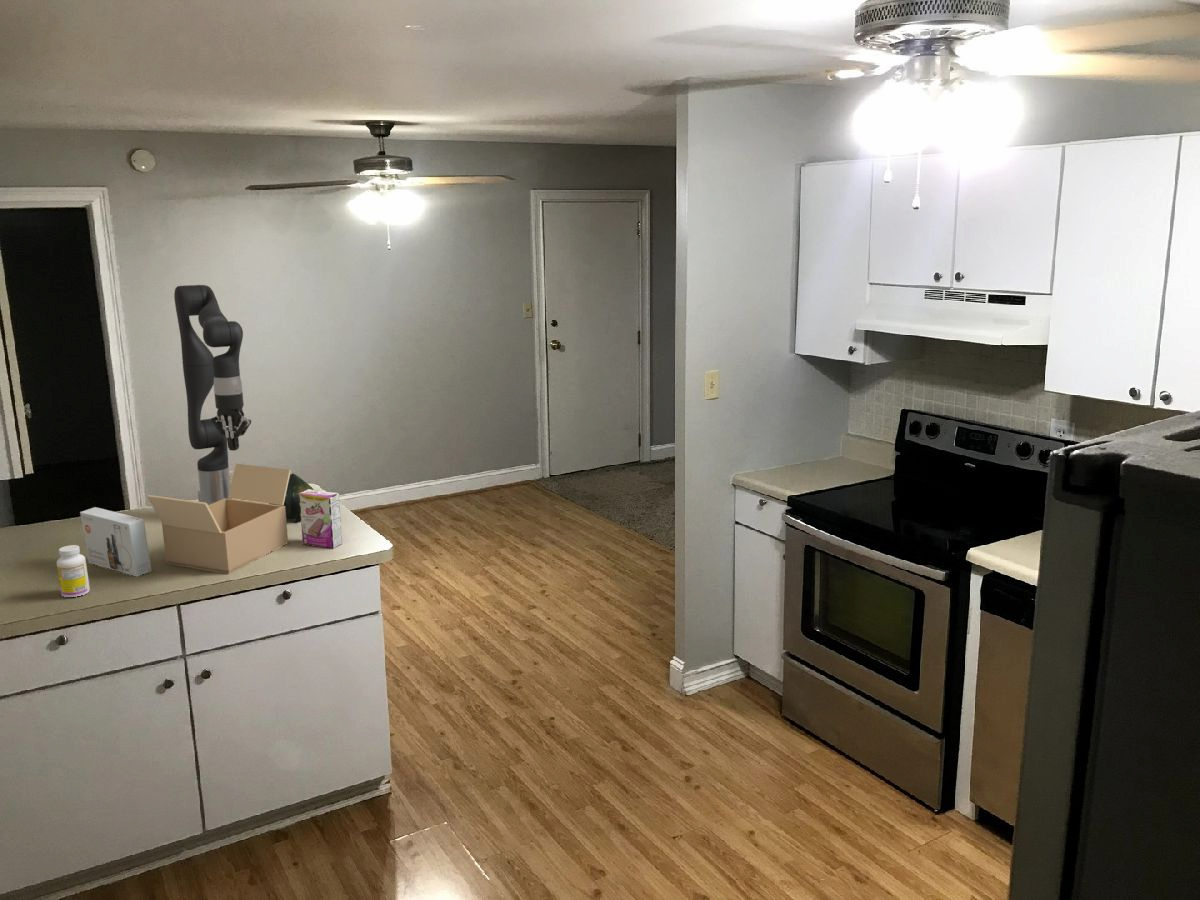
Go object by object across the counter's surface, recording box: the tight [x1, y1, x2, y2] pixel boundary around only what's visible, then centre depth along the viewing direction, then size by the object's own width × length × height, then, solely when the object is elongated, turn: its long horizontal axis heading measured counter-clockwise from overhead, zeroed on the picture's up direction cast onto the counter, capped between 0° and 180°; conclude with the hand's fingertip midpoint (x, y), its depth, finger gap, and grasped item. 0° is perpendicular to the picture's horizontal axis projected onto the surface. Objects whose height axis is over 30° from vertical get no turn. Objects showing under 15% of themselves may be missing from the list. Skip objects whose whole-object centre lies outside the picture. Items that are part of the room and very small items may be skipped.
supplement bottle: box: [56, 544, 91, 598], centre depth 246 cm, size 7×7×13 cm
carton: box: [161, 498, 289, 575], centre depth 275 cm, size 22×26×12 cm
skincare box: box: [79, 506, 153, 577], centre depth 264 cm, size 21×6×16 cm, turn 62°
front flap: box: [146, 494, 222, 534], centre depth 259 cm, size 20×11×1 cm
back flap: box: [228, 463, 292, 505], centre depth 287 cm, size 20×11×1 cm
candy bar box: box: [299, 489, 343, 550], centre depth 282 cm, size 11×5×16 cm, turn 71°
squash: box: [273, 473, 315, 522], centre depth 308 cm, size 14×15×15 cm
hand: (233, 449), depth 275 cm, fingers closed
